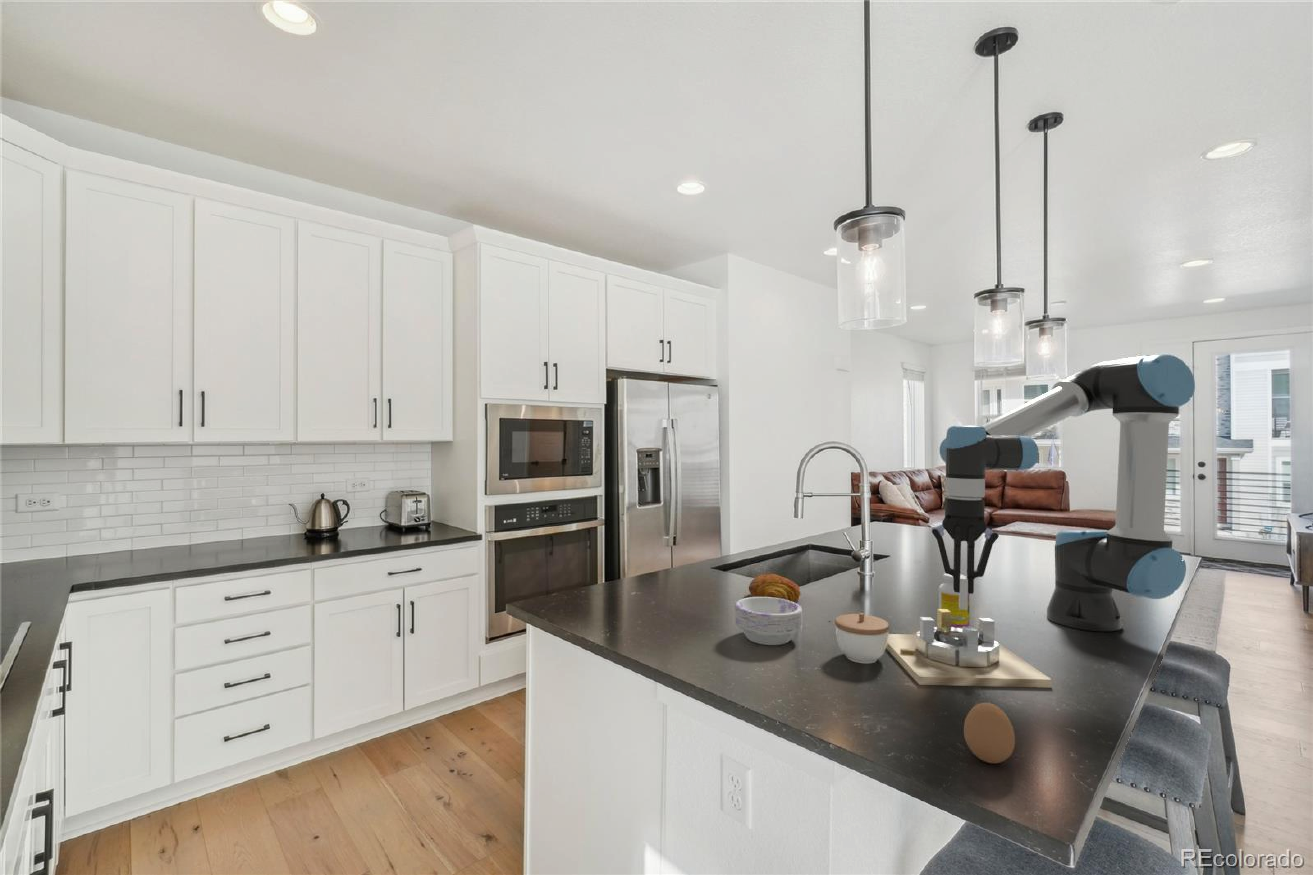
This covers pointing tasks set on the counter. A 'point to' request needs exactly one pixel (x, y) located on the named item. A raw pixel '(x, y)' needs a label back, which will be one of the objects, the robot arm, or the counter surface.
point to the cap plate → (964, 668)
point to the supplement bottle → (952, 603)
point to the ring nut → (974, 645)
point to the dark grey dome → (951, 638)
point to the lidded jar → (862, 637)
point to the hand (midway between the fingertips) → (963, 607)
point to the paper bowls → (768, 619)
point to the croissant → (774, 587)
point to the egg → (989, 733)
